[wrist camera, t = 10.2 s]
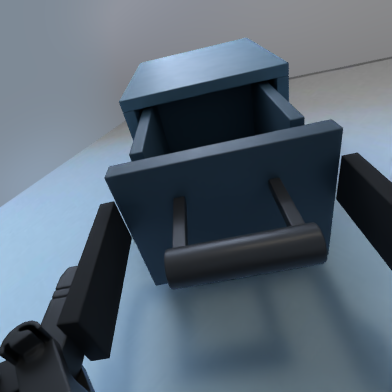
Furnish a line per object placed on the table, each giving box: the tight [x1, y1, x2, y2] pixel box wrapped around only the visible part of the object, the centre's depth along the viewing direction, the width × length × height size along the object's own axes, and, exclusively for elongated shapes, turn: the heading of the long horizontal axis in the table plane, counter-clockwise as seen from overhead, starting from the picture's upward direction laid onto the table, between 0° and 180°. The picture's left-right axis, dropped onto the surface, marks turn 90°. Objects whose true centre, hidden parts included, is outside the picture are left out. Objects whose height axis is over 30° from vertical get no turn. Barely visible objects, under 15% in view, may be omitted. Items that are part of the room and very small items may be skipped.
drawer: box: [105, 80, 343, 289], centre depth 19 cm, size 19×12×9 cm, turn 3°
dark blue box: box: [119, 38, 289, 141], centre depth 29 cm, size 15×13×11 cm
